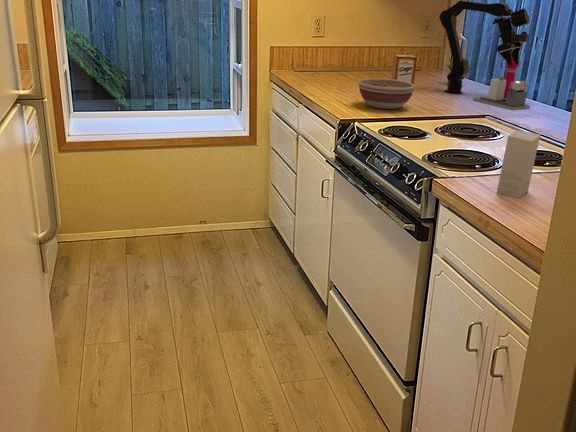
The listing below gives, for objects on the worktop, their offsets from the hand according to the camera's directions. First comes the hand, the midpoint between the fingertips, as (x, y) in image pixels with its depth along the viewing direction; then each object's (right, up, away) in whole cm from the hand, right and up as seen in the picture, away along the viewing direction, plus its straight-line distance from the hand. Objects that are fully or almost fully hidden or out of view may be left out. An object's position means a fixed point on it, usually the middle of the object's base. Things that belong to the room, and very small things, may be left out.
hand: (514, 64), depth 282 cm
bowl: (-63, -23, -22) cm, 70 cm away
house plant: (-16, -1, +42) cm, 45 cm away
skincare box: (-44, -63, -120) cm, 142 cm away
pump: (-9, -16, 0) cm, 18 cm away
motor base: (-6, -19, -3) cm, 20 cm away
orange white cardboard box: (-47, -6, +24) cm, 53 cm away
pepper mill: (+2, -12, +17) cm, 20 cm away
